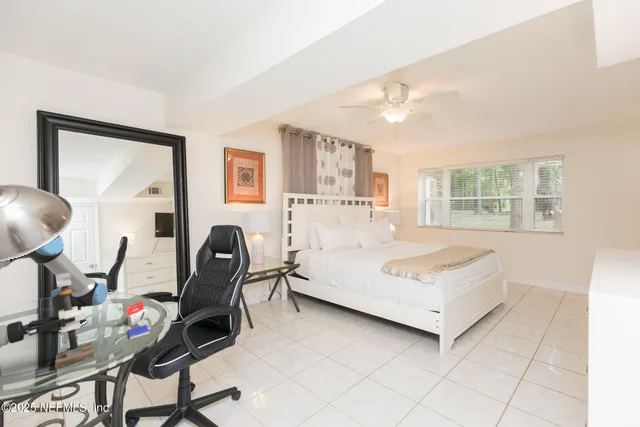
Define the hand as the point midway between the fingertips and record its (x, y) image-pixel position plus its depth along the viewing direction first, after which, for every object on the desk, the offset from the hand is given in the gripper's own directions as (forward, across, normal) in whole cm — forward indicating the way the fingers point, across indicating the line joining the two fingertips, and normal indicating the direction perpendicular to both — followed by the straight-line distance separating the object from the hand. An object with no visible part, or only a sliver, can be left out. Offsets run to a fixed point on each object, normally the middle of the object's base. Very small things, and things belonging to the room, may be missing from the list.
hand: (84, 313), depth 128 cm
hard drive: (+19, -6, -18) cm, 27 cm away
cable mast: (-5, 0, -17) cm, 18 cm away
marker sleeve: (-5, 0, -4) cm, 7 cm away
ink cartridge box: (+22, -26, -18) cm, 38 cm away
